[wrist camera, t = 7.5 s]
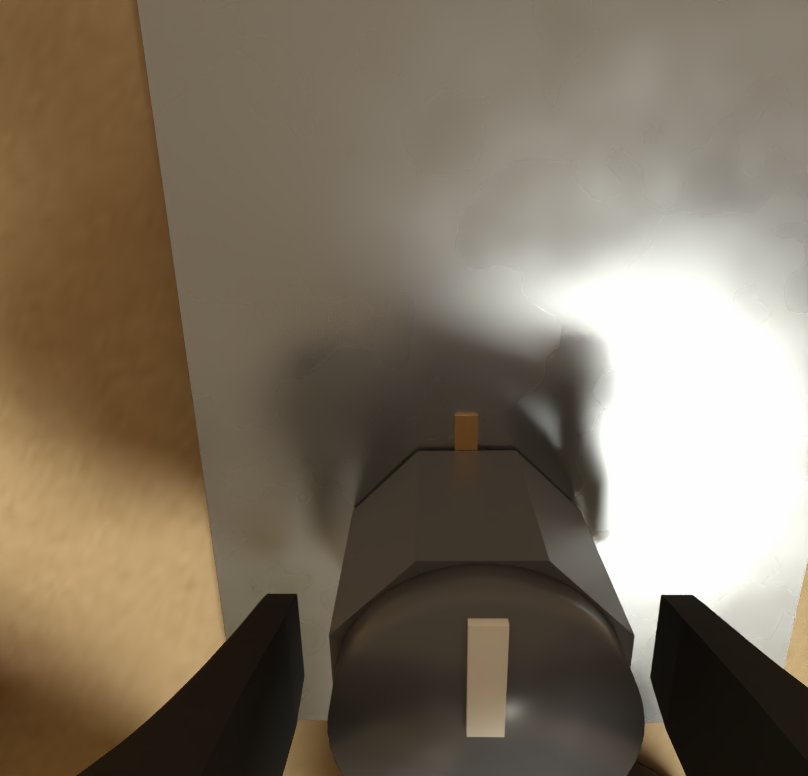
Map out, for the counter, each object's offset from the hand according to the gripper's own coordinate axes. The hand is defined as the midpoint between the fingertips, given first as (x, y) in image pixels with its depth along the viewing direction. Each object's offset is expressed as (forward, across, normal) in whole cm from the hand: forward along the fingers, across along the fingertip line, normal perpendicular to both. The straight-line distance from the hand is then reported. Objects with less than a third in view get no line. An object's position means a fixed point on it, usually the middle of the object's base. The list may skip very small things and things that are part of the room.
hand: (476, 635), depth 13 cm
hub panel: (+4, -1, -4) cm, 6 cm away
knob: (+3, 0, 0) cm, 3 cm away
